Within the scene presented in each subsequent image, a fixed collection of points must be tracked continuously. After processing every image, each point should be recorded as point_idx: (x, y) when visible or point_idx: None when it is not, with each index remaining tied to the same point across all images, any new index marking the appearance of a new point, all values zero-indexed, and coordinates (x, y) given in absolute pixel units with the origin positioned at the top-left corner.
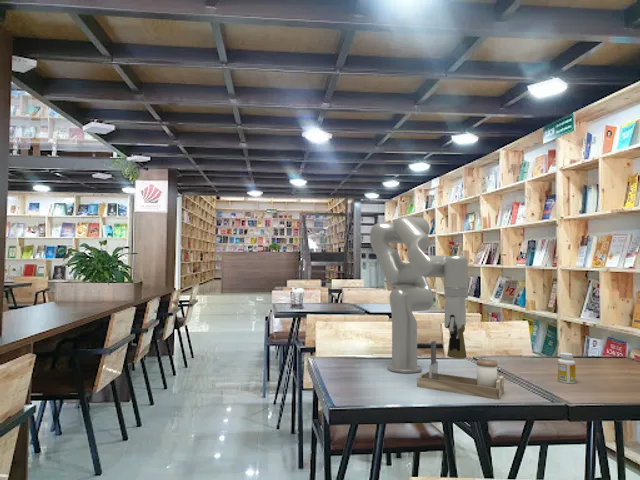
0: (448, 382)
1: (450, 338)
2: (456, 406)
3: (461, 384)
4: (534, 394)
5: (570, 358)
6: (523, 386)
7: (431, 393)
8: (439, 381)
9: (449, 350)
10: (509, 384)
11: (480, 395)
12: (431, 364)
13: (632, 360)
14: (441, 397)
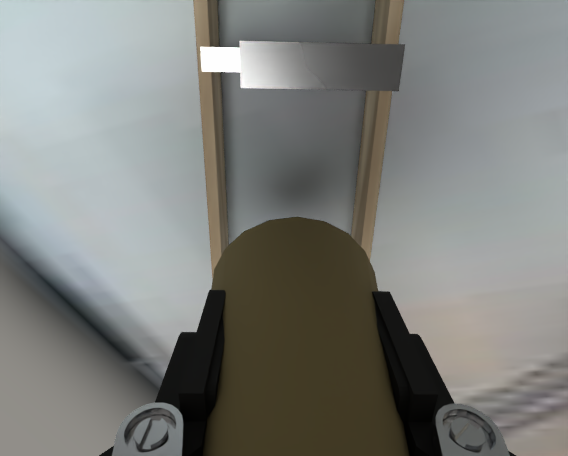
0: (206, 184)
1: (179, 400)
2: (9, 252)
3: (212, 251)
4: None
5: None
6: (473, 405)
7: (120, 98)
8: (203, 129)
9: (229, 277)
10: (487, 365)
11: None
12: (234, 60)
13: None
14: (88, 165)
